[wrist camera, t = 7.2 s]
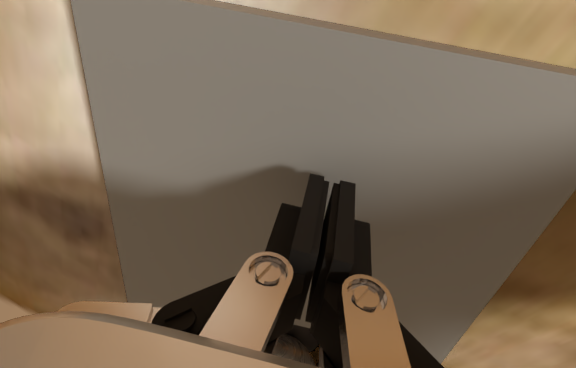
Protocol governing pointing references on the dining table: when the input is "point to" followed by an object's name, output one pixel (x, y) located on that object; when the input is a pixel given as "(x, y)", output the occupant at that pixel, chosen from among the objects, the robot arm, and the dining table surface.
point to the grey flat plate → (321, 150)
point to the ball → (293, 350)
